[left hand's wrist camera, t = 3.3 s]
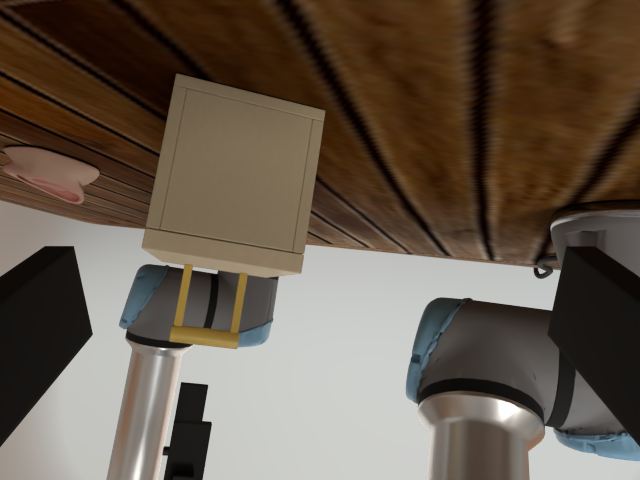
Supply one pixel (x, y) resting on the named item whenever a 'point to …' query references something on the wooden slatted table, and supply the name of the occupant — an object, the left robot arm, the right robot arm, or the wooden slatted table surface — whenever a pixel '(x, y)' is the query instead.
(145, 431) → the right robot arm
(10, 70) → the wooden slatted table surface
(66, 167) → the anatomical model
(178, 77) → the chest
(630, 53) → the wooden slatted table surface
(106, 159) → the wooden slatted table surface
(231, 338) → the lid
